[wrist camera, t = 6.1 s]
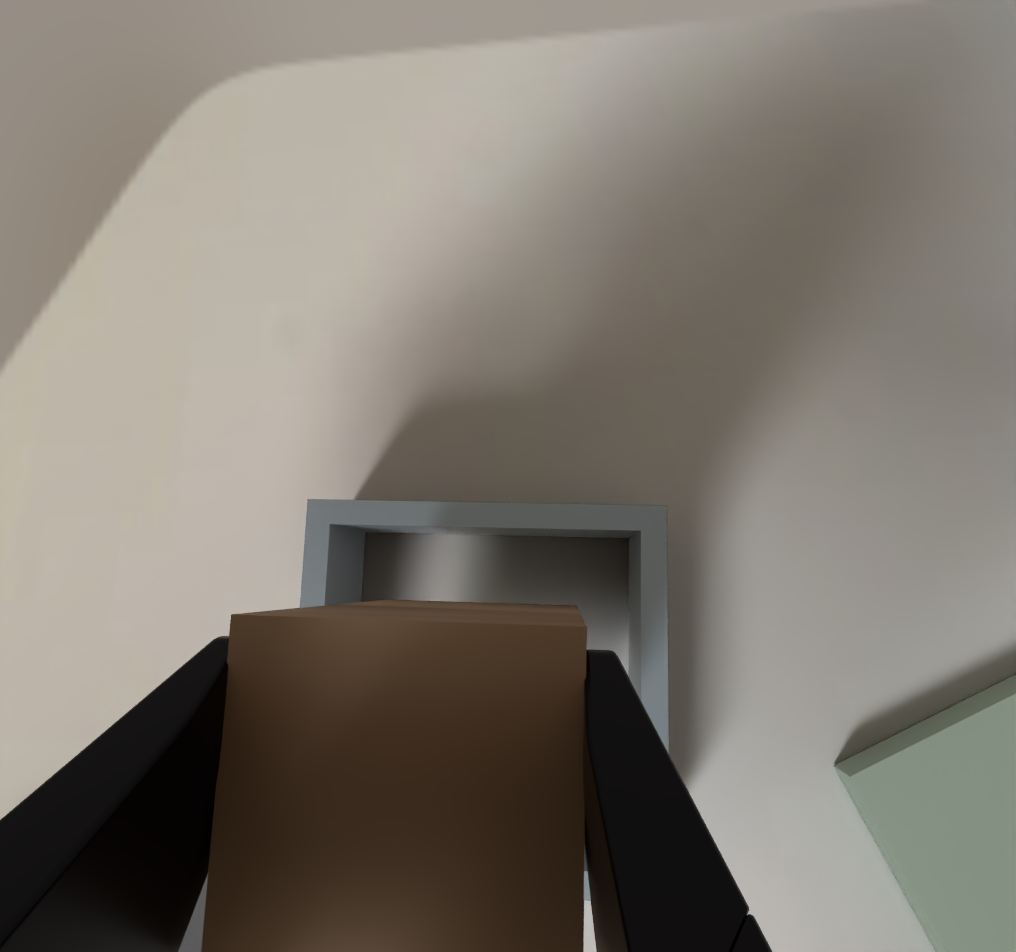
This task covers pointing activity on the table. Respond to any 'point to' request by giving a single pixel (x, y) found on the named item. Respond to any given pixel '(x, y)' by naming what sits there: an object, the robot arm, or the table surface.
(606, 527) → the blue-grey square tray
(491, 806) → the walnut block
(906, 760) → the sage plate
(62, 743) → the table surface
